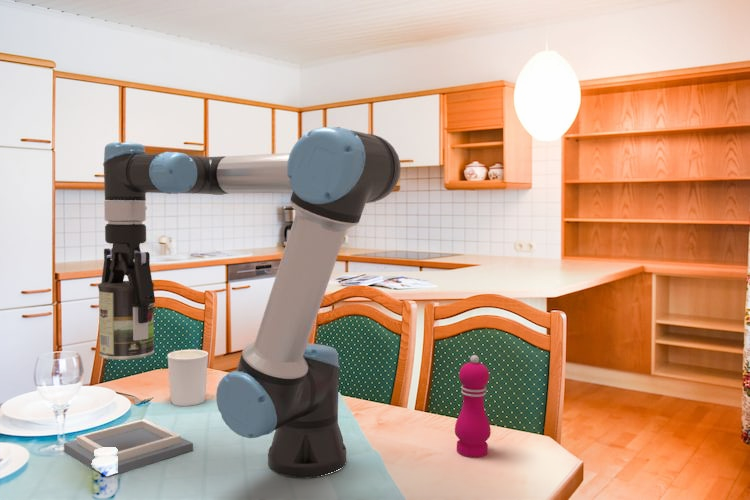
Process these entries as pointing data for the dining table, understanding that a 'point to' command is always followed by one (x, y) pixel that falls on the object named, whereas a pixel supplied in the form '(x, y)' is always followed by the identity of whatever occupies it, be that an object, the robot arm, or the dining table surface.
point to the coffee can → (121, 323)
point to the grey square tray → (130, 444)
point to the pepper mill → (473, 410)
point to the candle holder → (187, 376)
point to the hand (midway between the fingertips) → (127, 335)
